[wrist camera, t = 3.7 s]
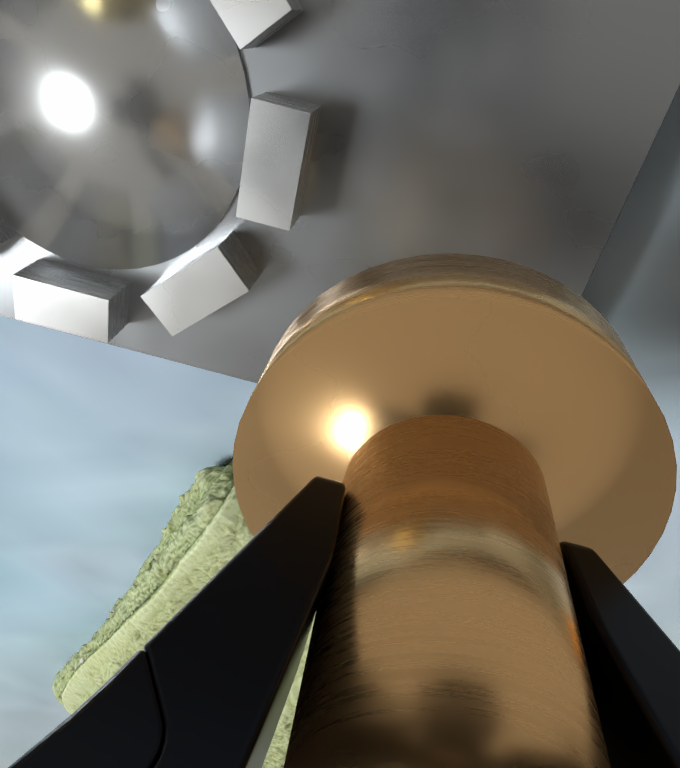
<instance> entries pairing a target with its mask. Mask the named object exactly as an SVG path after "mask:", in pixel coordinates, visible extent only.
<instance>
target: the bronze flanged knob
mask: <svg viewBox="0 0 680 768" xmlns="http://www.w3.org/2000/svg"><path fill="white" fill-rule="evenodd" d="M676 471H677V464H676V458H675V452H674V445H673V440H672V437H671V434H670V432H669V429H668V426H667V423H666V420H665V417H664V415H663V414H662V412H661V410H660V408H659V406H658V405H657V403H656V401H655V399H654V398H653V396H652V394H651V392H650V391H649V389H648V387H647V385H646V383H645V382H644V380H643V378H642V376H641V375H640V373H639V371H638V369H637V368H636V366H635V364H634V362H633V361H632V359H631V357H630V355H629V354H628V352H627V350H626V348H625V347H624V345H623V343H622V341H621V340H620V338H619V336H618V334H617V333H616V332H615V331H614V329H613V328H612V327H611V326H610V324H609V323H608V322H607V321H606V319H605V318H604V317H603V316H602V314H600V313H599V312H598V311H597V310H596V309H595V308H594V307H593V306H592V305H591V304H590V303H588V302H587V301H586V300H585V299H584V298H583V297H582V296H580V295H579V294H577V293H576V292H574V291H573V290H571V289H570V288H568V287H567V286H565V285H564V284H562V283H561V282H559V281H557V280H555V279H553V278H551V277H549V276H547V275H545V274H543V273H541V272H539V271H537V270H535V269H532V268H529V267H526V266H523V265H520V264H517V263H514V262H511V261H507V260H502V259H497V258H492V257H487V256H481V255H470V254H455V253H446V254H429V255H419V256H413V257H408V258H403V259H397V260H393V261H390V262H386V263H383V264H380V265H377V266H374V267H371V268H368V269H366V270H363V271H361V272H359V273H357V274H355V275H353V276H351V277H349V278H347V279H344V280H343V281H341V282H339V283H338V284H336V285H335V286H333V287H332V288H330V289H329V290H327V291H326V292H324V293H323V294H321V295H320V296H319V297H318V298H317V299H315V300H314V301H313V302H312V303H311V304H310V305H308V306H307V307H306V308H305V309H304V310H303V311H302V312H301V313H300V314H299V316H298V317H297V318H296V319H295V320H294V321H293V322H292V324H291V325H290V326H289V327H288V328H287V330H286V332H285V333H284V335H283V336H282V338H281V340H280V341H279V343H278V344H277V346H276V348H275V350H274V352H273V354H272V356H271V358H270V360H269V362H268V364H267V366H266V368H265V370H264V372H263V374H262V376H261V378H260V380H259V382H258V384H257V386H256V388H255V390H254V392H253V394H252V396H251V398H250V400H249V402H248V404H247V406H246V409H245V411H244V413H243V416H242V418H241V420H240V423H239V427H238V431H237V435H236V439H235V443H234V453H233V477H234V487H235V491H236V495H237V499H238V503H239V507H240V510H241V512H242V515H243V517H244V520H245V522H246V524H247V527H248V529H249V530H250V532H251V534H252V535H253V537H254V536H255V535H256V534H257V533H258V532H259V531H260V530H261V529H262V528H263V527H264V526H265V525H266V524H267V523H268V522H269V521H270V520H271V519H272V518H273V517H274V516H275V515H276V514H277V513H278V512H279V511H280V510H281V509H282V508H283V507H284V506H285V505H286V504H287V503H288V502H289V501H290V500H292V499H293V498H294V497H295V496H296V495H297V494H298V493H299V492H300V491H301V490H302V489H303V488H304V487H305V486H306V485H307V484H308V483H309V482H310V481H311V480H312V479H313V478H314V477H317V476H321V477H325V478H329V479H332V480H336V481H340V482H343V483H344V484H345V487H346V489H345V496H344V502H343V507H342V513H341V519H340V524H339V530H338V536H337V542H336V546H335V550H334V554H333V558H332V561H331V564H330V567H329V571H328V574H327V577H326V580H325V584H324V587H323V590H322V593H321V596H320V599H319V602H318V605H317V609H316V614H315V619H314V624H313V629H312V633H311V638H310V643H309V648H308V653H307V657H306V662H305V667H304V672H303V677H302V681H301V686H300V691H299V696H298V701H297V705H296V710H295V715H294V720H293V725H292V729H291V734H290V739H289V744H288V748H287V753H286V758H285V763H284V768H611V766H610V761H609V757H608V752H607V748H606V744H605V739H604V735H603V731H602V726H601V722H600V718H599V713H598V709H597V705H596V700H595V696H594V692H593V687H592V683H591V679H590V674H589V670H588V666H587V661H586V657H585V652H584V648H583V644H582V639H581V635H580V631H579V626H578V622H577V618H576V613H575V609H574V605H573V600H572V596H571V592H570V587H569V583H568V579H567V574H566V570H565V566H564V561H563V557H562V552H561V548H560V544H559V542H563V541H567V542H570V543H574V544H578V545H582V546H585V547H589V548H591V549H593V550H594V551H595V552H596V553H597V554H598V555H599V556H600V558H601V559H602V560H603V561H604V562H605V564H606V565H607V566H608V567H609V568H610V569H611V571H612V572H613V573H614V574H615V575H616V576H617V578H618V579H619V580H620V581H621V582H622V584H624V583H625V582H626V581H627V580H628V579H629V578H630V577H631V576H632V575H633V574H634V573H635V572H636V571H637V570H638V569H639V568H640V566H641V565H642V564H643V563H644V561H645V560H646V559H647V558H648V557H649V555H650V554H651V553H652V551H653V549H654V548H655V546H656V544H657V542H658V541H659V539H660V537H661V536H662V534H663V532H664V529H665V527H666V524H667V522H668V519H669V517H670V514H671V511H672V506H673V501H674V496H675V492H676Z"/></svg>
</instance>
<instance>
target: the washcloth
mask: <svg viewBox="0 0 680 768" xmlns="http://www.w3.org/2000/svg"><path fill="white" fill-rule="evenodd" d="M179 502H180V504H179V506H177V507H176V510H174V511H173V512H172V517H171V520H170V521H169V522H167V528H165V529H162V533H163V536H162V538H161V541H160V544H159V545H158V546H157V547H156V548H155V549H154V551H153V553H151V554H150V555H149V557H148V559H147V560H146V561H145V562H144V564H143V566H142V568H140V570H139V574H138V576H137V577H136V579H135V580H134V583H133V585H132V587H131V589H129V590H128V591H127V593H126V594H125V595H124V596H123V599H121V598H119V599H118V600H117V602H116V603H117V604H115V605H114V607H113V610H114V612H109V614H110V618H108V619H106V620H105V623H104V624H103V625H102V627H101V628H100V629H99V630H98V631H97V632H96V633H95V634H94V635H93V638H92V640H91V641H89V642H88V643H87V644H85V645H82V646H83V647H82V648H81V649H80V651H79V652H78V653H76V654H75V655H73V656H72V659H71V661H68V662H67V663H66V666H64V668H63V669H62V670H61V671H59V672H58V673H57V674H56V679H55V680H54V682H53V686H52V687H53V692H54V694H55V697H56V699H58V701H59V702H60V703H61V704H62V705H64V706H65V708H66V710H67V711H68V712H69V713H70V714H72V713H73V712H75V711H76V710H77V709H78V708H79V707H80V706H81V705H82V704H83V703H84V702H85V701H86V700H87V699H89V698H90V697H91V696H92V695H93V694H94V693H95V692H96V691H97V690H98V689H99V688H100V687H101V686H102V685H104V684H105V683H106V682H107V681H108V680H109V679H110V678H111V677H112V676H113V675H114V674H115V673H116V672H117V671H118V670H119V669H120V668H121V667H122V666H123V665H124V664H125V663H126V662H127V661H128V660H129V659H130V658H131V657H132V656H133V655H134V654H135V653H136V652H137V651H139V650H143V651H144V645H145V644H146V643H147V642H148V641H149V640H150V639H151V638H152V637H153V636H154V635H155V634H156V633H157V632H158V631H159V630H160V629H161V628H162V627H163V626H164V625H165V624H166V623H167V622H168V621H169V620H170V619H171V618H172V617H173V616H174V615H175V614H176V613H177V612H178V611H179V610H180V609H181V608H182V607H183V606H184V605H185V604H186V603H187V602H188V601H189V600H190V599H191V598H192V597H193V596H194V595H195V594H196V593H197V592H199V591H200V590H201V589H202V588H203V587H204V586H205V585H206V584H207V583H208V582H209V581H210V580H211V579H212V578H213V577H214V576H215V575H216V574H217V573H218V572H219V571H220V570H221V569H222V568H223V567H224V566H225V565H226V564H227V563H228V562H229V561H230V560H231V559H232V558H233V557H234V556H235V555H236V554H237V553H238V552H239V551H240V550H241V549H242V548H243V547H244V546H245V545H246V544H247V543H248V542H249V541H250V540H251V539H252V538H253V535H252V534H251V532H250V530H249V529H248V527H247V524H246V522H245V520H244V517H243V515H242V512H241V510H240V507H239V503H238V499H237V495H236V491H235V487H234V477H233V460H232V461H231V462H230V463H229V464H228V465H227V466H226V467H223V466H222V467H218V466H214V467H207V468H205V469H203V470H201V471H199V472H198V473H197V474H196V476H195V483H194V484H193V485H191V489H190V490H189V491H187V492H186V493H185V494H183V495H180V496H179ZM315 614H316V613H315ZM314 619H315V616H314ZM314 619H313V623H312V626H311V629H310V632H309V636H308V639H307V642H306V645H305V649H304V652H303V655H302V658H301V661H300V664H299V667H298V670H297V673H296V676H295V678H294V681H293V684H292V686H291V689H290V692H289V695H288V697H287V700H286V703H285V706H284V708H283V711H282V714H281V717H280V719H279V722H278V725H277V727H276V730H275V733H274V736H273V738H272V741H271V744H270V747H269V749H268V752H267V755H266V758H265V760H264V763H263V766H262V768H284V763H285V758H286V753H287V748H288V744H289V739H290V734H291V729H292V725H293V720H294V715H295V710H296V705H297V701H298V696H299V691H300V686H301V681H302V677H303V672H304V667H305V662H306V657H307V653H308V648H309V643H310V638H311V633H312V629H313V624H314Z"/></svg>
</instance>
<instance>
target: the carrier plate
mask: <svg viewBox="0 0 680 768" xmlns="http://www.w3.org/2000/svg"><path fill="white" fill-rule="evenodd" d="M679 85H680V0H0V315H1V316H5V317H8V318H12V319H16V320H20V321H24V322H27V323H31V324H35V325H39V326H43V327H46V328H50V329H54V330H58V331H61V332H65V333H69V334H73V335H77V336H80V337H84V338H88V339H92V340H96V341H99V342H103V343H107V344H111V345H115V346H118V347H122V348H126V349H130V350H133V351H137V352H141V353H145V354H149V355H152V356H156V357H160V358H164V359H168V360H171V361H175V362H179V363H183V364H187V365H190V366H194V367H198V368H202V369H205V370H209V371H213V372H217V373H221V374H224V375H228V376H232V377H236V378H240V379H243V380H247V381H251V382H255V383H258V382H259V380H260V378H261V376H262V374H263V372H264V370H265V368H266V366H267V364H268V362H269V360H270V358H271V356H272V354H273V352H274V350H275V348H276V346H277V344H278V343H279V341H280V340H281V338H282V336H283V335H284V333H285V332H286V330H287V328H288V327H289V326H290V325H291V324H292V322H293V321H294V320H295V319H296V318H297V317H298V316H299V314H300V313H301V312H302V311H303V310H304V309H305V308H306V307H307V306H308V305H310V304H311V303H312V302H313V301H314V300H315V299H317V298H318V297H319V296H320V295H321V294H323V293H324V292H326V291H327V290H329V289H330V288H332V287H333V286H335V285H336V284H338V283H339V282H341V281H343V280H344V279H347V278H349V277H351V276H353V275H355V274H357V273H359V272H361V271H363V270H366V269H368V268H371V267H374V266H377V265H380V264H383V263H386V262H390V261H393V260H397V259H403V258H408V257H413V256H419V255H429V254H446V253H455V254H470V255H481V256H487V257H492V258H497V259H502V260H507V261H511V262H514V263H517V264H520V265H523V266H526V267H529V268H532V269H535V270H537V271H539V272H541V273H543V274H545V275H547V276H549V277H551V278H553V279H555V280H557V281H559V282H561V283H562V284H564V285H565V286H567V287H568V288H570V289H571V290H573V291H574V292H576V293H577V294H579V295H580V296H582V293H583V291H584V289H585V287H586V285H587V283H588V281H589V278H590V276H591V274H592V272H593V270H594V268H595V266H596V263H597V261H598V259H599V257H600V255H601V253H602V250H603V248H604V246H605V244H606V242H607V240H608V238H609V235H610V233H611V231H612V229H613V227H614V225H615V223H616V220H617V218H618V216H619V214H620V212H621V210H622V208H623V205H624V203H625V201H626V199H627V197H628V195H629V193H630V190H631V188H632V186H633V184H634V182H635V180H636V177H637V175H638V173H639V171H640V169H641V167H642V165H643V162H644V160H645V158H646V156H647V154H648V152H649V150H650V147H651V145H652V143H653V141H654V139H655V137H656V135H657V132H658V130H659V128H660V126H661V124H662V122H663V119H664V117H665V115H666V113H667V111H668V109H669V107H670V104H671V102H672V100H673V98H674V96H675V94H676V92H677V89H678V87H679Z"/></svg>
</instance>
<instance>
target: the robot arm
mask: <svg viewBox="0 0 680 768" xmlns="http://www.w3.org/2000/svg"><path fill="white" fill-rule="evenodd" d="M345 489H346V487H345V484H344V483H343V482H340V481H336V480H332V479H329V478H325V477H321V476H317V477H314V478H313V479H312V480H311V481H310V482H309V483H308V484H307V485H306V486H305V487H304V488H303V489H302V490H301V491H300V492H299V493H298V494H297V495H296V496H295V497H294V498H293V499H292V500H290V501H289V502H288V503H287V504H286V505H285V506H284V507H283V508H282V509H281V510H280V511H279V512H278V513H277V514H276V515H275V516H274V517H273V518H272V519H271V520H270V521H269V522H268V523H267V524H266V525H265V526H264V527H263V528H262V529H261V530H260V531H259V532H258V533H257V534H256V535H255V536H254V537H253V538H252V539H251V540H250V541H249V542H248V543H247V544H246V545H245V546H244V547H243V548H242V549H241V550H240V551H239V552H238V553H237V554H236V555H235V556H234V557H233V558H232V559H231V560H230V561H229V562H228V563H227V564H226V565H225V566H224V567H223V568H222V569H221V570H220V571H219V572H218V573H217V574H216V575H215V576H214V577H213V578H212V579H211V580H210V581H209V582H208V583H207V584H206V585H205V586H204V587H203V588H202V589H201V590H200V591H199V592H197V593H196V594H195V595H194V596H193V597H192V598H191V599H190V600H189V601H188V602H187V603H186V604H185V605H184V606H183V607H182V608H181V609H180V610H179V611H178V612H177V613H176V614H175V615H174V616H173V617H172V618H171V619H170V620H169V621H168V622H167V623H166V624H165V625H164V626H163V627H162V628H161V629H160V630H159V631H158V632H157V633H156V634H155V635H154V636H153V637H152V638H151V639H150V640H149V641H148V642H147V643H146V644H145V645H144V651H143V650H139V651H137V652H136V653H135V654H134V655H133V656H132V657H131V658H130V659H129V660H128V661H127V662H126V663H125V664H124V665H123V666H122V667H121V668H120V669H119V670H118V671H117V672H116V673H115V674H114V675H113V676H112V677H111V678H110V679H109V680H108V681H107V682H106V683H105V684H104V685H102V686H101V687H100V688H99V689H98V690H97V691H96V692H95V693H94V694H93V695H92V696H91V697H90V698H89V699H87V700H86V701H85V702H84V703H83V704H82V705H81V706H80V707H79V708H78V709H77V710H76V711H75V712H73V713H72V714H71V715H70V716H69V717H68V718H67V719H66V720H65V721H63V722H62V723H61V724H60V725H59V726H57V727H56V728H55V729H54V730H53V731H51V732H50V733H49V734H48V735H47V736H45V737H44V738H43V739H42V740H41V741H39V742H38V743H37V744H36V745H35V746H33V747H32V748H31V749H30V750H29V751H28V752H26V753H25V754H24V755H23V756H22V757H20V758H19V759H18V760H17V761H16V762H14V763H13V764H12V765H11V766H9V767H8V768H262V766H263V763H264V760H265V758H266V755H267V752H268V749H269V747H270V744H271V741H272V738H273V736H274V733H275V730H276V727H277V725H278V722H279V719H280V717H281V714H282V711H283V708H284V706H285V703H286V700H287V697H288V695H289V692H290V689H291V686H292V684H293V681H294V678H295V676H296V673H297V670H298V667H299V664H300V661H301V658H302V655H303V652H304V649H305V645H306V642H307V639H308V636H309V632H310V629H311V626H312V623H313V619H314V616H315V613H316V609H317V605H318V602H319V599H320V596H321V593H322V590H323V587H324V584H325V580H326V577H327V574H328V571H329V567H330V564H331V561H332V558H333V554H334V550H335V546H336V542H337V536H338V530H339V524H340V519H341V513H342V507H343V502H344V496H345ZM559 544H560V548H561V552H562V557H563V561H564V566H565V570H566V574H567V579H568V583H569V587H570V592H571V596H572V600H573V605H574V609H575V613H576V618H577V622H578V626H579V631H580V635H581V639H582V644H583V648H584V652H585V657H586V661H587V666H588V670H589V674H590V679H591V683H592V687H593V692H594V696H595V700H596V705H597V709H598V713H599V718H600V722H601V726H602V731H603V735H604V739H605V744H606V748H607V752H608V757H609V761H610V766H611V768H680V651H679V649H678V648H677V647H676V646H675V645H674V644H673V642H672V641H671V640H670V639H669V638H668V636H667V635H666V634H665V633H664V632H663V631H662V629H661V628H660V627H659V626H658V625H657V624H656V622H655V621H654V620H653V619H652V618H651V616H650V615H649V614H648V613H647V612H646V611H645V609H644V608H643V607H642V606H641V605H640V604H639V602H638V601H637V600H636V599H635V598H634V596H633V595H632V594H631V593H630V592H629V591H628V589H627V588H626V587H625V586H624V585H623V584H622V582H621V581H620V580H619V579H618V578H617V576H616V575H615V574H614V573H613V572H612V571H611V569H610V568H609V567H608V566H607V565H606V564H605V562H604V561H603V560H602V559H601V558H600V556H599V555H598V554H597V553H596V552H595V551H594V550H593V549H591V548H589V547H585V546H582V545H578V544H574V543H570V542H567V541H563V542H559Z"/></svg>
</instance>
